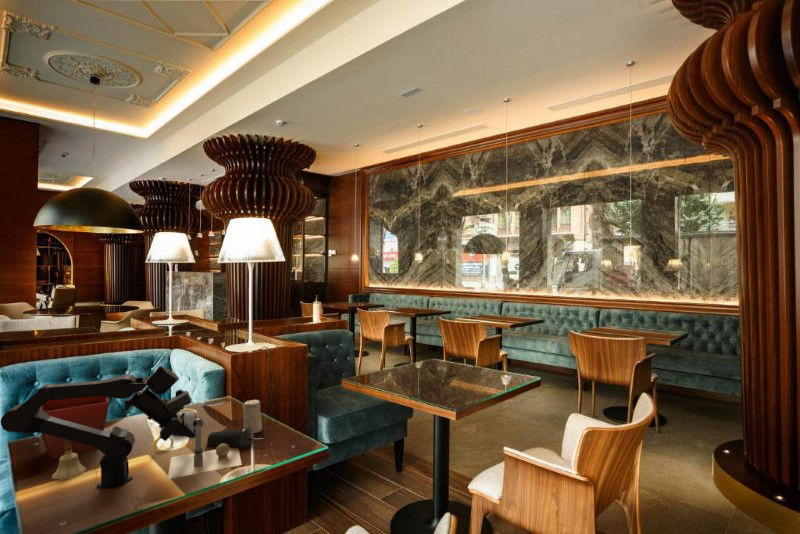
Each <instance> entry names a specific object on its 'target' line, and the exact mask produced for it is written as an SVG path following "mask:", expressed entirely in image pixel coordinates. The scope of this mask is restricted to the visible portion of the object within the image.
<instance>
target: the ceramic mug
mask: <svg viewBox="0 0 800 534" xmlns="http://www.w3.org/2000/svg"><path fill="white" fill-rule="evenodd" d="M184 412H185V421H186V422H187V424H188V425H189V426H190V428H191V429H192V430H193V431H195V428H194V427H193V422H194V420H196V419H198V415H197V412H196V411H194V410H189V411H188V410H187V411H182V412H181V411H179V412H178V413H177V415H180V416H181V415H182V414H183V413H184Z"/></svg>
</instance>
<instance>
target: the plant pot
mask: <svg viewBox="0 0 800 534" xmlns="http://www.w3.org/2000/svg"><path fill="white" fill-rule="evenodd" d="M109 400H110V398H108V397H103V396H94V397H82V398H70V399H59V400H49V401H47V402H46V403H45V404H44V405H42V406H41V407H40V408H39V409H41V410H43V411H44V412H45V413H46V414H48V415H49V416H51V417H55V418H59V419H62V420H66V421H69V422H73V423H77V424H80V425H84V426H87V427H91V428H95V429H98V430H102V431H105V427H106V423H107V418H108V412H109V406H110V405H109V404H110V401H109ZM40 435H41V438H42V441H43V444H44V448H45V449H46V452H47V454H48V456H49V458H50V459H51V460H55V459H58V458H59V459H60V457H62V456H63V455H65V442H64V440H63V439H62V438H58V437H54V436H50V435H47V434H43V433H40ZM71 448H72V453H76V454H77V455H78V454H85V453H89V452H94V451H97V450H98V449H97V448H95V447H92V446H88V445H85V444H81V443H77V442H73V441H71Z"/></svg>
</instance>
